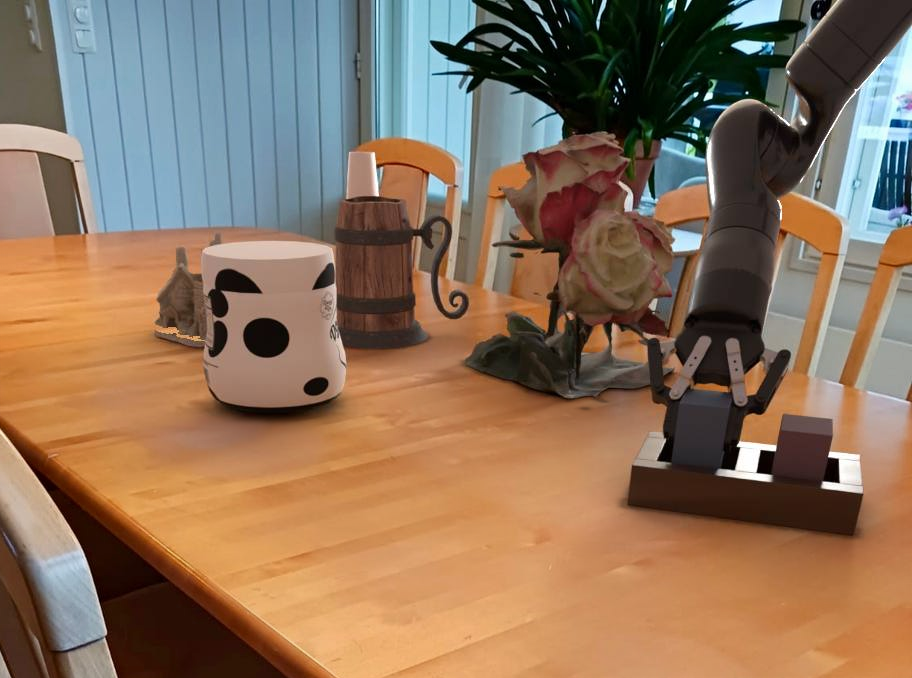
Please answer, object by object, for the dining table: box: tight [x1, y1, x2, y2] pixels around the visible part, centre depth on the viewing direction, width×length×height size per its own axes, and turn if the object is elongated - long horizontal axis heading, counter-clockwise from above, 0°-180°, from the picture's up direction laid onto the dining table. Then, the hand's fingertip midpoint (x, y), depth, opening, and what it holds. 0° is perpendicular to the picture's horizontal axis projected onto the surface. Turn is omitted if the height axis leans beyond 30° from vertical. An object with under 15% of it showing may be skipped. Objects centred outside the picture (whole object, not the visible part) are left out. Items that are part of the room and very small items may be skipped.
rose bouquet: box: [449, 131, 676, 400], centre depth 130 cm, size 26×29×30 cm
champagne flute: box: [345, 151, 380, 199], centre depth 185 cm, size 7×7×24 cm
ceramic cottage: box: [154, 232, 224, 348], centre depth 150 cm, size 16×16×15 cm
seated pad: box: [771, 413, 834, 481], centre depth 92 cm, size 6×4×8 cm
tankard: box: [333, 195, 470, 349], centre depth 150 cm, size 24×17×20 cm
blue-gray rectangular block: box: [671, 388, 733, 469], centre depth 93 cm, size 6×4×8 cm
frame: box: [626, 430, 865, 536], centre depth 94 cm, size 11×20×4 cm, turn 71°
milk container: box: [200, 240, 347, 414], centre depth 117 cm, size 17×17×18 cm
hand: (699, 443), depth 92 cm, fingers closed on blue-gray rectangular block, 4 cm apart
